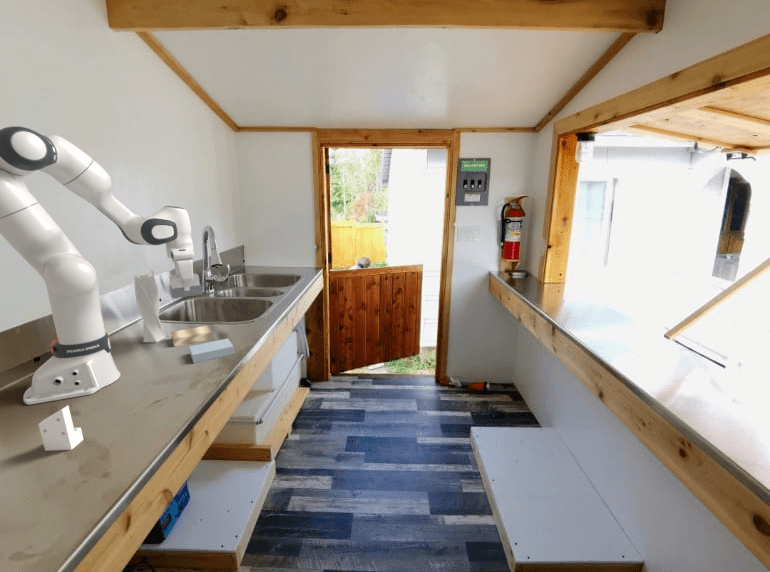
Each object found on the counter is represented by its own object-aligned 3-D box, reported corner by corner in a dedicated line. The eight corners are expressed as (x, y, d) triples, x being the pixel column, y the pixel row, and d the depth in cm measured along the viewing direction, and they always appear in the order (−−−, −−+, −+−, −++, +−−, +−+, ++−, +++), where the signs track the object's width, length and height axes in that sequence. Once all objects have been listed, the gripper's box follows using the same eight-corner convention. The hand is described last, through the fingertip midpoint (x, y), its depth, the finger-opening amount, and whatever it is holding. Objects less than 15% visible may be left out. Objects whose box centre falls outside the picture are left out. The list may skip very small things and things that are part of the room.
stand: (193, 363, 128) (192, 355, 128) (190, 354, 136) (189, 346, 135) (234, 354, 135) (233, 346, 134) (228, 346, 142) (228, 338, 142)
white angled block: (89, 439, 85) (61, 409, 83) (54, 460, 86) (26, 431, 84) (100, 429, 89) (74, 400, 87) (66, 449, 90) (40, 421, 88)
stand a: (174, 346, 142) (173, 339, 142) (172, 339, 150) (171, 332, 149) (212, 339, 149) (211, 332, 149) (208, 332, 157) (207, 325, 156)
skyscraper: (172, 336, 153) (161, 268, 147) (158, 344, 146) (146, 272, 139) (152, 336, 154) (140, 267, 147) (138, 344, 146) (124, 272, 140)
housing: (172, 298, 139) (169, 279, 137) (170, 294, 144) (167, 276, 142) (202, 294, 144) (200, 275, 142) (199, 290, 149) (197, 273, 147)
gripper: (168, 249, 147) (173, 284, 150) (173, 255, 130) (179, 295, 133) (186, 247, 150) (191, 282, 153) (194, 254, 134) (199, 292, 137)
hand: (185, 288), depth 143 cm, fingers closed on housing, 6 cm apart
